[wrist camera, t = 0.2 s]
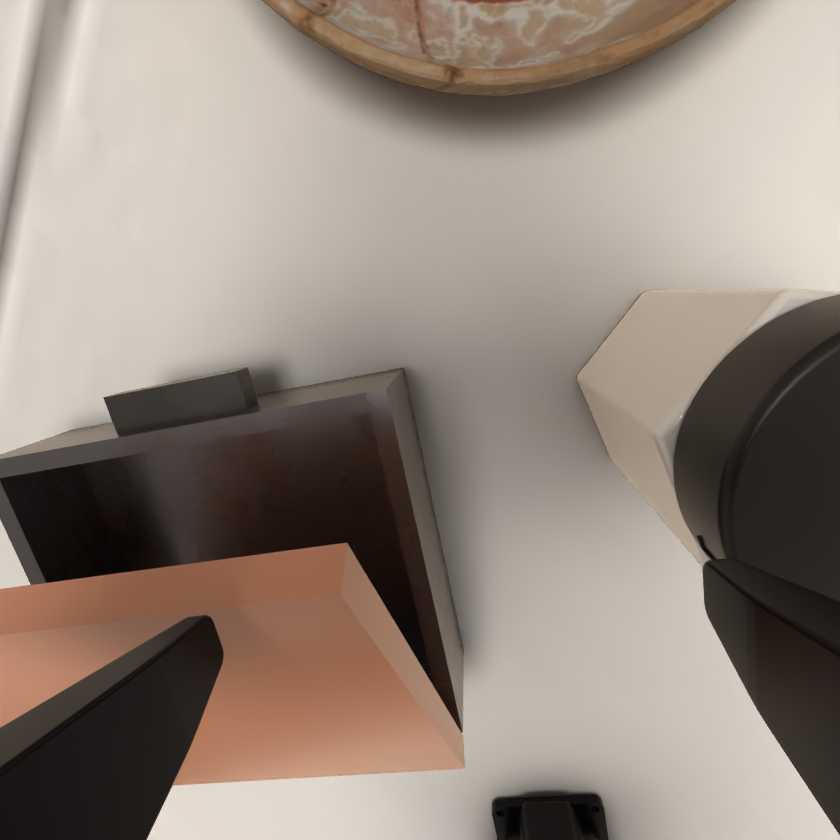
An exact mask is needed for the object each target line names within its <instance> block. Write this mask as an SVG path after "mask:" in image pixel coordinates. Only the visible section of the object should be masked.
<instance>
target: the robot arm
mask: <svg viewBox="0 0 840 840" xmlns="http://www.w3.org/2000/svg"><path fill="white" fill-rule="evenodd" d="M703 587H704V604H705V609H706V613H707V615H708V618H709V620H710V622H711V624H712V626H713V628H714V630H715V631H716V633H717V635H718V637H719V639H720V641H721V643H722V645H723V647H724V648H725V650H726V652H727V654H728V656H729V658H730V660H731V662H732V664H733V666H734V667H735V669H736V671H737V673H738V675H739V677H740V679H741V681H742V683H743V684H744V686H745V688H746V690H747V692H748V694H749V696H750V698H751V699H752V701H753V703H754V705H755V707H756V708H757V710H758V712H759V713H760V715H761V716H762V718H763V720H764V721H765V723H766V724H767V726H768V727H769V729H770V730H771V732H772V733H773V735H774V737H775V738H776V740H777V741H778V743H779V744H780V746H781V747H782V749H783V750H784V752H785V753H786V755H787V756H788V758H789V759H790V761H791V762H792V764H793V765H794V767H795V768H796V770H797V771H798V773H799V774H800V776H801V777H802V779H803V780H804V782H805V783H806V785H807V786H808V788H809V789H810V791H811V792H812V794H813V796H814V797H815V799H816V800H817V802H818V803H819V805H820V806H821V808H822V809H823V811H824V812H825V814H826V815H827V817H828V818H829V820H830V821H831V823H832V824H833V826H834V827H835V829H836V830H837V832H838V833H839V835H840V602H839V601H837V600H834V599H832V598H829V597H827V596H825V595H822V594H820V593H817V592H815V591H812V590H810V589H807V588H805V587H802V586H800V585H797V584H795V583H792V582H790V581H787V580H785V579H782V578H780V577H777V576H775V575H772V574H770V573H767V572H765V571H762V570H760V569H757V568H755V567H752V566H750V565H747V564H745V563H742V562H740V561H737V560H735V559H732V558H725V559H716V560H708V561H706V562H705V563H704V565H703ZM223 659H224V652H223V647H222V644H221V641H220V638H219V636H218V633H217V630H216V627H215V624H214V621H213V619H212V618H211V617H210V616H208V615H199V616H190V617H187V618H185V619H183V620H181V621H180V622H178V623H176V624H175V625H173V626H171V627H170V628H168V629H166V630H165V631H163V632H161V633H159V634H158V635H156V636H154V637H153V638H151V639H149V640H148V641H146V642H144V643H143V644H141V645H139V646H138V647H136V648H134V649H132V650H131V651H129V652H127V653H126V654H124V655H122V656H121V657H119V658H117V659H116V660H114V661H112V662H110V663H109V664H107V665H105V666H104V667H102V668H100V669H99V670H97V671H95V672H94V673H92V674H90V675H88V676H87V677H85V678H83V679H82V680H80V681H78V682H77V683H75V684H73V685H72V686H70V687H68V688H66V689H65V690H63V691H61V692H60V693H58V694H56V695H55V696H53V697H51V698H50V699H48V700H46V701H44V702H43V703H41V704H39V705H38V706H36V707H34V708H33V709H31V710H29V711H28V712H26V713H24V714H22V715H21V716H19V717H17V718H16V719H14V720H12V721H11V722H9V723H7V724H6V725H4V726H2V727H0V840H147V838H148V836H149V834H150V831H151V829H152V827H153V825H154V823H155V821H156V819H157V817H158V815H159V813H160V811H161V808H162V806H163V804H164V802H165V800H166V798H167V796H168V794H169V792H170V790H171V788H172V785H173V783H174V781H175V779H176V777H177V775H178V773H179V771H180V769H181V767H182V765H183V762H184V760H185V758H186V756H187V754H188V751H189V749H190V747H191V745H192V742H193V740H194V737H195V735H196V732H197V730H198V727H199V725H200V722H201V719H202V717H203V714H204V711H205V709H206V706H207V703H208V701H209V698H210V696H211V693H212V690H213V688H214V685H215V682H216V680H217V677H218V674H219V672H220V669H221V667H222V664H223ZM492 815H493V820H494V825H495V829H496V834H497V839H498V840H608V834H607V827H606V819H605V812H604V807H603V803H602V800H601V799H600V798H599V797H597V796H577V797H556V798H535V799H514V800H497V801H495V802H493V804H492Z"/></svg>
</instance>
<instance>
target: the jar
mask: <svg viewBox="0 0 840 840" xmlns="http://www.w3.org/2000/svg"><path fill="white" fill-rule="evenodd" d="M577 380H578V383H579V385H580V387H581V390H582V392H583V394H584V397H585V399H586V402H587V404H588V406H589V409H590V411H591V413H592V416H593V418H594V421H595V423H596V425H597V428H598V430H599V432H600V435H601V437H602V440H603V442H604V444H605V447H606V449H607V452H608V454H609V456H610V459H611V461H612V462H613V463H614V464H615V466H616V467H617V468H618V469H619V470H620V471H621V473H622V474H623V475H624V476H625V477H626V478H627V480H628V481H629V482H630V483H631V484H632V485H633V487H634V488H635V489H636V490H637V491H638V492H639V494H640V495H641V496H642V497H643V498H644V499H645V501H646V502H647V503H648V504H649V505H650V507H651V508H652V509H653V510H654V511H655V512H656V514H657V515H658V516H659V517H660V518H661V519H662V521H663V522H664V523H665V524H666V525H667V526H668V528H669V529H670V530H671V531H672V532H673V533H674V535H675V536H676V537H677V538H678V539H679V540H680V542H681V543H682V544H683V545H684V546H685V547H686V549H687V550H688V551H689V552H690V553H691V554H692V556H693V557H694V558H695V559H696V560H697V561H698V563H699V564H700V565H701V566H702V567H703V565H704V563H705V562H706V561H708V560H716V559H725V558H732V559H735V560H737V561H740V562H742V563H745V564H747V565H750V566H752V567H755V568H757V569H760V570H762V571H765V572H767V573H770V574H772V575H775V576H777V577H780V578H782V579H785V580H787V581H790V582H792V583H795V584H797V585H800V586H802V587H805V588H807V589H810V590H812V591H815V592H817V593H820V594H822V595H825V596H827V597H829V598H832V599H834V600H837V601H839V602H840V292H835V291H819V290H803V289H717V290H647V291H645V292H643V293H642V294H641V295H640V297H639V298H638V299H637V300H636V302H635V303H634V304H633V306H632V307H631V308H630V309H629V311H628V312H627V313H626V314H625V316H624V317H623V318H622V319H621V321H620V322H619V323H618V325H617V326H616V327H615V328H614V330H613V331H612V332H611V333H610V335H609V336H608V337H607V338H606V340H605V341H604V342H603V343H602V345H601V346H600V347H599V349H598V350H597V351H596V352H595V354H594V355H593V356H592V357H591V359H590V360H589V361H588V362H587V364H586V365H585V366H584V368H583V369H582V370H581V371H580V373H579V374H578V376H577Z"/></svg>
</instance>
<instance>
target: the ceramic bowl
mask: <svg viewBox="0 0 840 840" xmlns="http://www.w3.org/2000/svg"><path fill="white" fill-rule="evenodd" d="M263 1H264V2H265V3H266V4H267V5H268V6H270V7H271V8H272V9H273V10H274V11H276V12H277V13H278V14H279V15H280V16H282V17H283V18H284V19H285V20H286V21H288V22H289V23H290V24H291V25H292V26H294V27H295V28H296V29H297V30H299V31H301V32H302V33H304V34H306V35H307V36H309V37H310V38H312V39H313V40H315V41H317V42H318V43H320V44H321V45H323V46H325V47H326V48H328V49H330V50H331V51H333V52H335V53H337V54H339V55H340V56H342V57H344V58H346V59H348V60H349V61H351V62H353V63H355V64H357V65H359V66H361V67H363V68H365V69H367V70H370V71H372V72H374V73H377V74H380V75H382V76H385V77H388V78H390V79H393V80H396V81H400V82H404V83H408V84H412V85H416V86H420V87H424V88H428V89H432V90H435V91H442V92H449V93H456V94H463V95H492V96H506V95H513V94H520V93H527V92H535V91H541V90H546V89H551V88H556V87H561V86H565V85H570V84H574V83H578V82H581V81H584V80H587V79H590V78H593V77H596V76H599V75H602V74H605V73H608V72H611V71H614V70H617V69H619V68H621V67H623V66H626V65H628V64H630V63H633V62H635V61H637V60H640V59H642V58H644V57H647V56H649V55H651V54H653V53H655V52H656V51H658V50H660V49H662V48H664V47H666V46H668V45H670V44H671V43H673V42H675V41H677V40H679V39H681V38H682V37H684V36H685V35H687V34H688V33H690V32H692V31H693V30H695V29H696V28H698V27H700V26H701V25H703V24H704V23H705V22H707V21H708V20H710V19H711V18H712V17H714V16H715V15H716V14H718V13H719V12H721V11H722V10H723V9H725V8H726V7H728V6H729V5H730V4H732V3H733V2H734V1H736V0H263Z"/></svg>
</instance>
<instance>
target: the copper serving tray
mask: <svg viewBox="0 0 840 840" xmlns="http://www.w3.org/2000/svg"><path fill="white" fill-rule="evenodd" d="M199 615H208V616H210V617H211V618H212V619H213V621H214V624H215V627H216V630H217V633H218V636H219V638H220V641H221V644H222V647H223V652H224V659H223V664H222V667H221V669H220V672H219V674H218V677H217V680H216V682H215V685H214V688H213V690H212V693H211V696H210V698H209V701H208V703H207V706H206V709H205V711H204V714H203V717H202V719H201V722H200V725H199V727H198V730H197V732H196V735H195V737H194V740H193V742H192V745H191V747H190V749H189V751H188V754H187V756H186V758H185V760H184V762H183V765H182V767H181V769H180V771H179V773H178V775H177V777H176V779H175V781H174V783H173V785H188V784H205V783H222V782H239V781H256V780H273V779H291V778H308V777H325V776H342V775H359V774H377V773H394V772H411V771H428V770H445V769H462V768H465V760H464V744H463V735H462V733H461V731H460V730H459V728H458V726H457V725H456V723H455V721H454V720H453V718H452V716H451V715H450V713H449V711H448V710H447V708H446V706H445V705H444V703H443V701H442V700H441V698H440V696H439V695H438V693H437V691H436V690H435V688H434V686H433V685H432V683H431V681H430V680H429V678H428V676H427V675H426V673H425V671H424V670H423V668H422V666H421V665H420V663H419V662H418V660H417V658H416V657H415V655H414V653H413V652H412V650H411V648H410V647H409V645H408V643H407V642H406V640H405V638H404V637H403V635H402V633H401V632H400V630H399V628H398V627H397V625H396V623H395V622H394V620H393V618H392V617H391V615H390V613H389V612H388V610H387V608H386V607H385V605H384V603H383V602H382V600H381V598H380V597H379V595H378V593H377V592H376V590H375V588H374V587H373V585H372V583H371V582H370V580H369V578H368V577H367V575H366V573H365V572H364V570H363V568H362V567H361V565H360V563H359V562H358V560H357V558H356V557H355V555H354V553H353V552H352V550H351V548H350V547H349V545H348V543H341V544H333V545H326V546H318V547H311V548H303V549H296V550H288V551H281V552H274V553H266V554H259V555H251V556H244V557H236V558H229V559H221V560H214V561H206V562H199V563H192V564H184V565H177V566H169V567H162V568H154V569H147V570H139V571H132V572H125V573H117V574H110V575H102V576H95V577H87V578H80V579H72V580H65V581H58V582H50V583H43V584H35V585H28V586H20V587H13V588H5V589H0V727H2V726H4V725H6V724H7V723H9V722H11V721H12V720H14V719H16V718H17V717H19V716H21V715H22V714H24V713H26V712H28V711H29V710H31V709H33V708H34V707H36V706H38V705H39V704H41V703H43V702H44V701H46V700H48V699H50V698H51V697H53V696H55V695H56V694H58V693H60V692H61V691H63V690H65V689H66V688H68V687H70V686H72V685H73V684H75V683H77V682H78V681H80V680H82V679H83V678H85V677H87V676H88V675H90V674H92V673H94V672H95V671H97V670H99V669H100V668H102V667H104V666H105V665H107V664H109V663H110V662H112V661H114V660H116V659H117V658H119V657H121V656H122V655H124V654H126V653H127V652H129V651H131V650H132V649H134V648H136V647H138V646H139V645H141V644H143V643H144V642H146V641H148V640H149V639H151V638H153V637H154V636H156V635H158V634H159V633H161V632H163V631H165V630H166V629H168V628H170V627H171V626H173V625H175V624H176V623H178V622H180V621H181V620H183V619H185V618H187V617H190V616H199Z"/></svg>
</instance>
